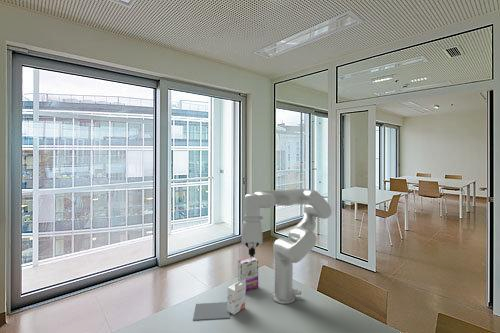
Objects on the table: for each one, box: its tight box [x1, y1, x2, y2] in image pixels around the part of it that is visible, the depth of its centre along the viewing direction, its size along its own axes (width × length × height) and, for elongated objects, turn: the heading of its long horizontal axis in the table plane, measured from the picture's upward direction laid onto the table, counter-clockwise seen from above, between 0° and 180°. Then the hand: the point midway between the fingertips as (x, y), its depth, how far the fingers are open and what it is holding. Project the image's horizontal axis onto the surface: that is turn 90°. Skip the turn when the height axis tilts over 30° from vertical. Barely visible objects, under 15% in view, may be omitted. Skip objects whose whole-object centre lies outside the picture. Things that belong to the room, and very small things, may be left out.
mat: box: [192, 301, 231, 322], centre depth 124 cm, size 17×13×1 cm
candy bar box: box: [237, 256, 259, 292], centre depth 147 cm, size 11×5×16 cm, turn 117°
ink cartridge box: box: [226, 279, 247, 315], centre depth 125 cm, size 9×5×15 cm, turn 143°
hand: (251, 255), depth 126 cm, fingers closed
